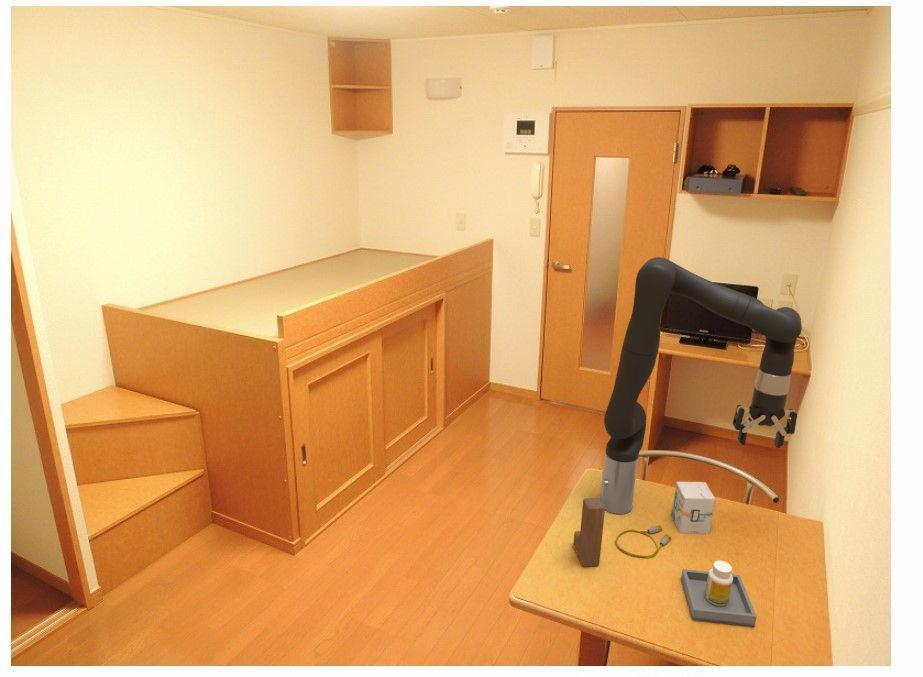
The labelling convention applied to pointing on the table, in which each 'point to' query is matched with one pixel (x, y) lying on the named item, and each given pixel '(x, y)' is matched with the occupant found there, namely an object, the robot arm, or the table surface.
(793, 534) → the table surface
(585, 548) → the wooden block
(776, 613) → the table surface
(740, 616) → the tray
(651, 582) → the table surface
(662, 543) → the extension cord
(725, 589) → the supplement bottle
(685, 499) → the ink box
